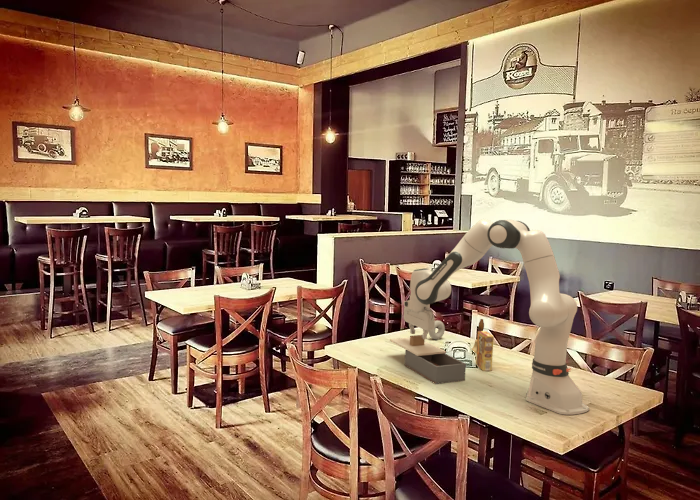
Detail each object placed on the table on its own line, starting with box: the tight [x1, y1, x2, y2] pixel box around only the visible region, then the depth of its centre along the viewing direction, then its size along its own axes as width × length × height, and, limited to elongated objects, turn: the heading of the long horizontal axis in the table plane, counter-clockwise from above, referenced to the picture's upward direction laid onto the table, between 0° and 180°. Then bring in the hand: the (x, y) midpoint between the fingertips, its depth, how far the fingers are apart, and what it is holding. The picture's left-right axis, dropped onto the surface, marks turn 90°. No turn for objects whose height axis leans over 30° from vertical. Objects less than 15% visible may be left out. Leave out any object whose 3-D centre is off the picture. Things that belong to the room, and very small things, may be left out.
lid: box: [389, 334, 447, 356], centre depth 237 cm, size 24×14×5 cm, turn 24°
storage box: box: [404, 349, 467, 385], centre depth 225 cm, size 24×14×7 cm, turn 24°
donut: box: [428, 319, 446, 340], centre depth 278 cm, size 10×3×10 cm, turn 123°
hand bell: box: [471, 318, 485, 354], centre depth 259 cm, size 8×8×16 cm
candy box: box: [475, 330, 494, 372], centre depth 234 cm, size 9×4×15 cm, turn 8°
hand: (418, 336), depth 236 cm, fingers open, 8 cm apart
